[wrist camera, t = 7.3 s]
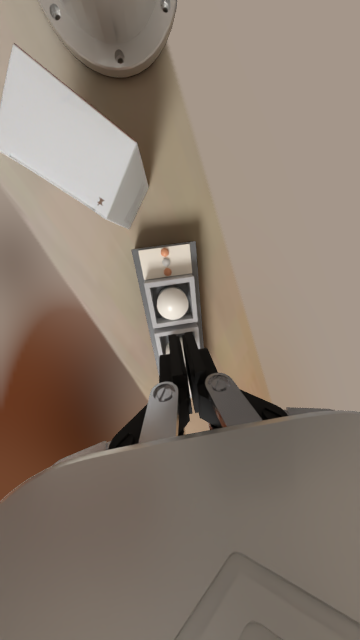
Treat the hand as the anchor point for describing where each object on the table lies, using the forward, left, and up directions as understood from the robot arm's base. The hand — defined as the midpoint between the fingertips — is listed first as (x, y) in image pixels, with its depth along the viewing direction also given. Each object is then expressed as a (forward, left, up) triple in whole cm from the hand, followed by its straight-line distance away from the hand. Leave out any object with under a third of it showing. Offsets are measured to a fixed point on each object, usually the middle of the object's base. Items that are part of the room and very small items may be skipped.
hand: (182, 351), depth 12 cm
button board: (+5, 0, -16) cm, 17 cm away
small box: (-14, -5, -17) cm, 22 cm away
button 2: (0, 0, -13) cm, 13 cm away
